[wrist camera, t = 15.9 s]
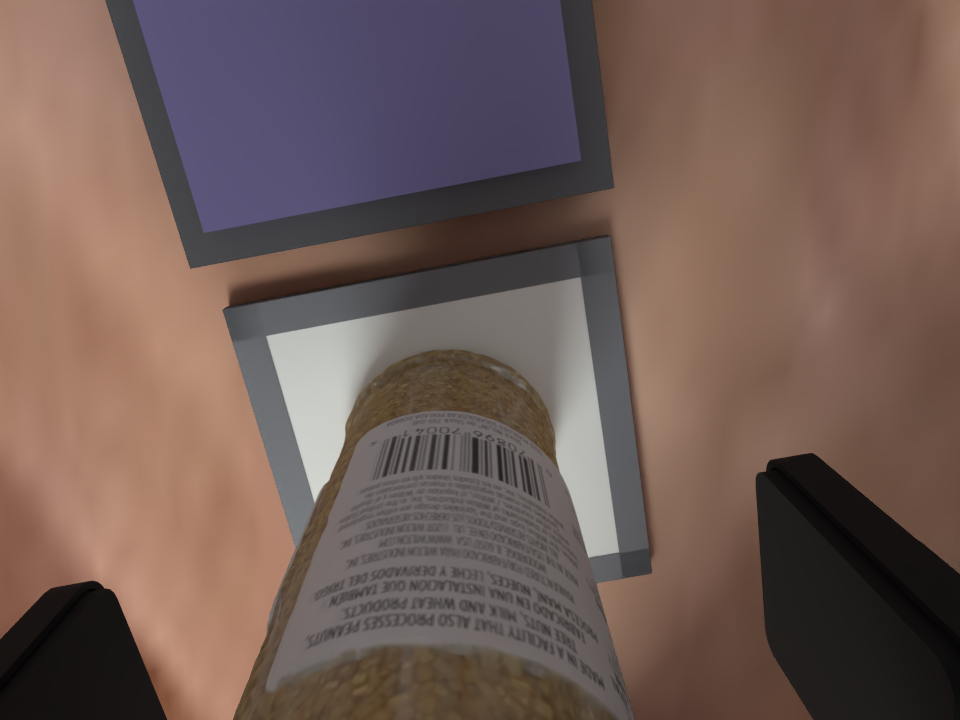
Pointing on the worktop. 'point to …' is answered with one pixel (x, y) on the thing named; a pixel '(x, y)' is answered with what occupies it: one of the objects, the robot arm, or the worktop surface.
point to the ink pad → (360, 113)
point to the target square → (462, 326)
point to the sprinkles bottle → (440, 566)
